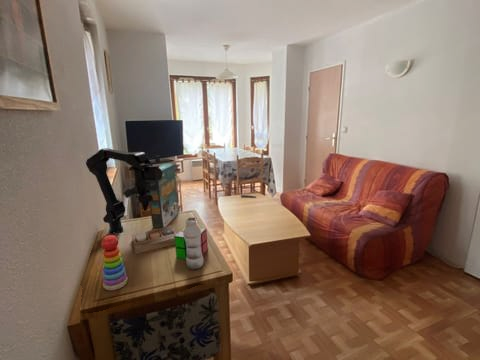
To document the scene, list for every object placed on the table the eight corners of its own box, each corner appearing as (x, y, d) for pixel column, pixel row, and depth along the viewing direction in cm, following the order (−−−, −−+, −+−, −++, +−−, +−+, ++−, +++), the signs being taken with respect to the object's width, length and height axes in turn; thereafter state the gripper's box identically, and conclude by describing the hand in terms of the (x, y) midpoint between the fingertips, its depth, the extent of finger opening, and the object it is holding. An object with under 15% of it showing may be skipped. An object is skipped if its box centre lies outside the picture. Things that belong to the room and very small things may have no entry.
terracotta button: (150, 240, 121) (149, 233, 120) (159, 238, 123) (158, 231, 122) (151, 244, 117) (150, 237, 116) (161, 241, 119) (160, 235, 118)
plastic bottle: (200, 272, 96) (196, 223, 90) (183, 270, 97) (179, 222, 92) (206, 262, 102) (202, 216, 97) (190, 261, 103) (186, 215, 98)
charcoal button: (163, 237, 123) (162, 230, 123) (171, 235, 125) (171, 228, 124) (165, 240, 120) (164, 234, 119) (173, 238, 122) (173, 232, 121)
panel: (132, 240, 122) (131, 234, 121) (172, 231, 130) (171, 225, 129) (135, 253, 110) (135, 247, 109) (179, 242, 118) (178, 236, 117)
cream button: (136, 239, 118) (135, 233, 117) (145, 237, 119) (145, 231, 119) (137, 243, 114) (136, 237, 113) (147, 241, 116) (146, 234, 115)
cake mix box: (169, 212, 155) (164, 164, 147) (178, 212, 154) (174, 164, 146) (152, 228, 134) (145, 172, 126) (163, 228, 133) (157, 173, 125)
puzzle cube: (208, 249, 112) (206, 228, 109) (197, 261, 103) (195, 239, 100) (188, 246, 115) (186, 225, 113) (176, 257, 106) (173, 236, 103)
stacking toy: (112, 294, 85) (102, 244, 80) (98, 286, 89) (89, 238, 85) (132, 281, 92) (125, 234, 87) (119, 274, 96) (111, 229, 91)
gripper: (121, 177, 124) (125, 207, 128) (123, 187, 108) (128, 221, 112) (145, 174, 129) (148, 203, 133) (150, 183, 113) (155, 215, 117)
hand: (145, 210), depth 123 cm, fingers closed
